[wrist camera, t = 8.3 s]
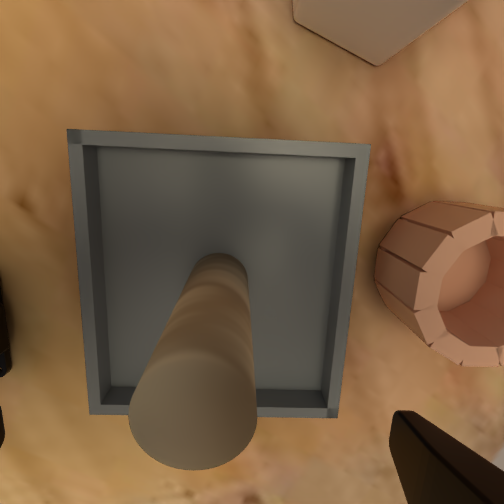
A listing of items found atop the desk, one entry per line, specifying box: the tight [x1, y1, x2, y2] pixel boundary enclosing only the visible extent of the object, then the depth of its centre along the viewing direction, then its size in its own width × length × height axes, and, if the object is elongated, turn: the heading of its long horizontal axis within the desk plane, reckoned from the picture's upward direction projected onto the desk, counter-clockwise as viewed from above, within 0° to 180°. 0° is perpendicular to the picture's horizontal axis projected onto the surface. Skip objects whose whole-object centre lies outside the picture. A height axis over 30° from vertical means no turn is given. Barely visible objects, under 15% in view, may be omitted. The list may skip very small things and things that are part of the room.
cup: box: [374, 201, 504, 367], centre depth 17 cm, size 7×7×4 cm
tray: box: [67, 129, 371, 418], centre depth 17 cm, size 13×14×2 cm
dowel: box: [128, 253, 257, 470], centre depth 13 cm, size 3×3×10 cm
